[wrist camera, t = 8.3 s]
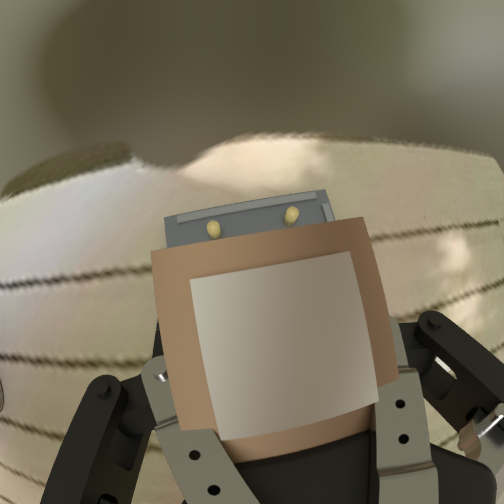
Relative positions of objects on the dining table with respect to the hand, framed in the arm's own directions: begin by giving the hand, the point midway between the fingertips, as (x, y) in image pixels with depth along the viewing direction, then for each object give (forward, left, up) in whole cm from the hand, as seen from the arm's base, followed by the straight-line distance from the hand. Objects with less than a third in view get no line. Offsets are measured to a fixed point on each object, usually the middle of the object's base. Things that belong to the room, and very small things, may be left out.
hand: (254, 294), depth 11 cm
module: (0, -2, -4) cm, 5 cm away
